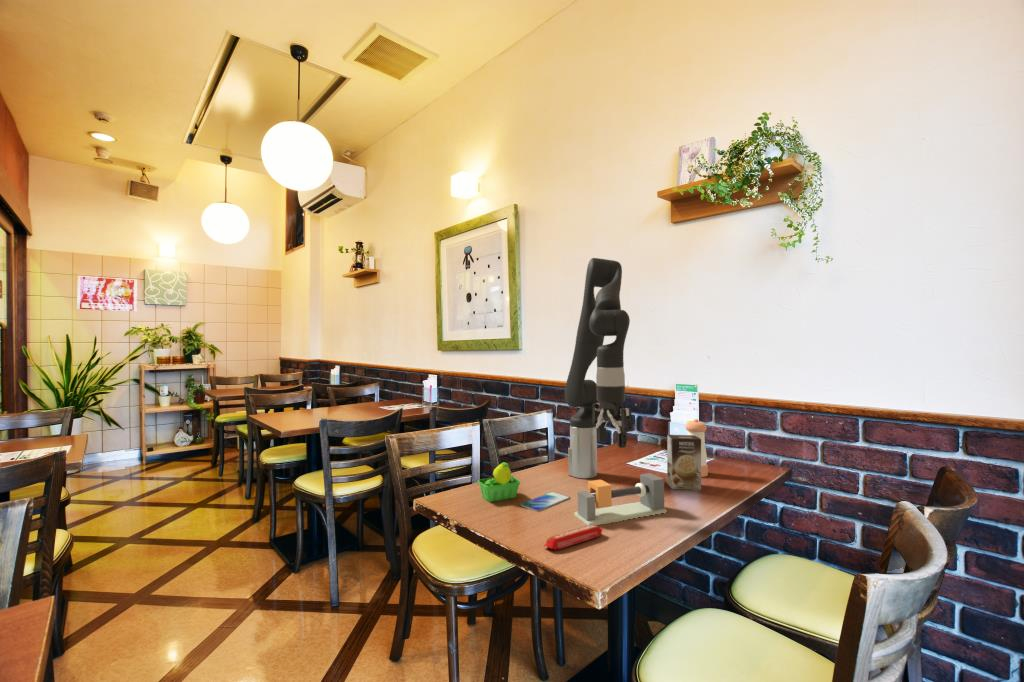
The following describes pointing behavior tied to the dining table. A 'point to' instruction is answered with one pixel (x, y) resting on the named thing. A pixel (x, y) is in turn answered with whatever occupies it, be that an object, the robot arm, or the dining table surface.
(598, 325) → the robot arm
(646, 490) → the cord stand
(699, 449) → the coffee box
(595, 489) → the marker sleeve
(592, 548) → the dining table surface
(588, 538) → the candy bar
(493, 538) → the dining table surface
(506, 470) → the fruit basket
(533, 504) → the smartphone
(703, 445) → the pepper shaker
